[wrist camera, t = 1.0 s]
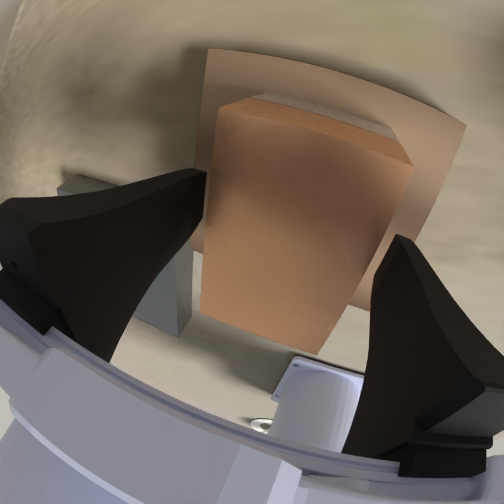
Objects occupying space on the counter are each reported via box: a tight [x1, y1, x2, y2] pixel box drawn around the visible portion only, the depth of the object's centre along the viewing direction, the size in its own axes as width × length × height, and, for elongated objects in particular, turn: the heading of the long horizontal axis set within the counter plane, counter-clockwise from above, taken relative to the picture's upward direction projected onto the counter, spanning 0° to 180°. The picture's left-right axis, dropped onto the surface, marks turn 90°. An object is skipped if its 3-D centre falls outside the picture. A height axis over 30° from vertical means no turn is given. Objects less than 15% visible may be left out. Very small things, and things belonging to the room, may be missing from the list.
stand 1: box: [57, 175, 193, 337], centre depth 22 cm, size 11×11×2 cm
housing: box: [200, 91, 414, 355], centre depth 11 cm, size 8×5×5 cm, turn 170°
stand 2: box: [190, 48, 466, 311], centre depth 14 cm, size 11×11×2 cm
